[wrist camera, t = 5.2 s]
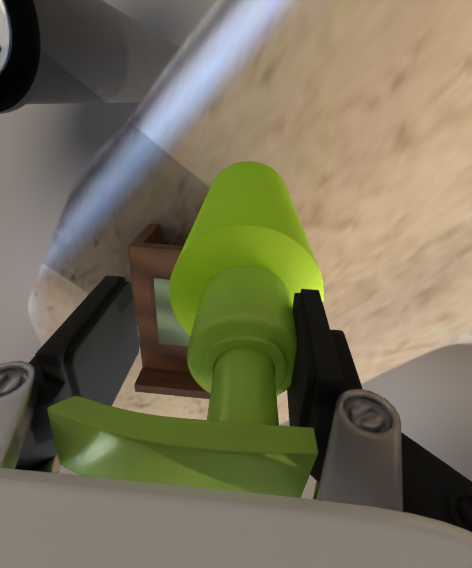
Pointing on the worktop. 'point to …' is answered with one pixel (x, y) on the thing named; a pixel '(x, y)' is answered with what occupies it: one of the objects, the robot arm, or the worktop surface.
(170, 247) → the wooden picture frame
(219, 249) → the soap dispenser
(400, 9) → the worktop surface
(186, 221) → the worktop surface
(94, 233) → the worktop surface
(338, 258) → the worktop surface
